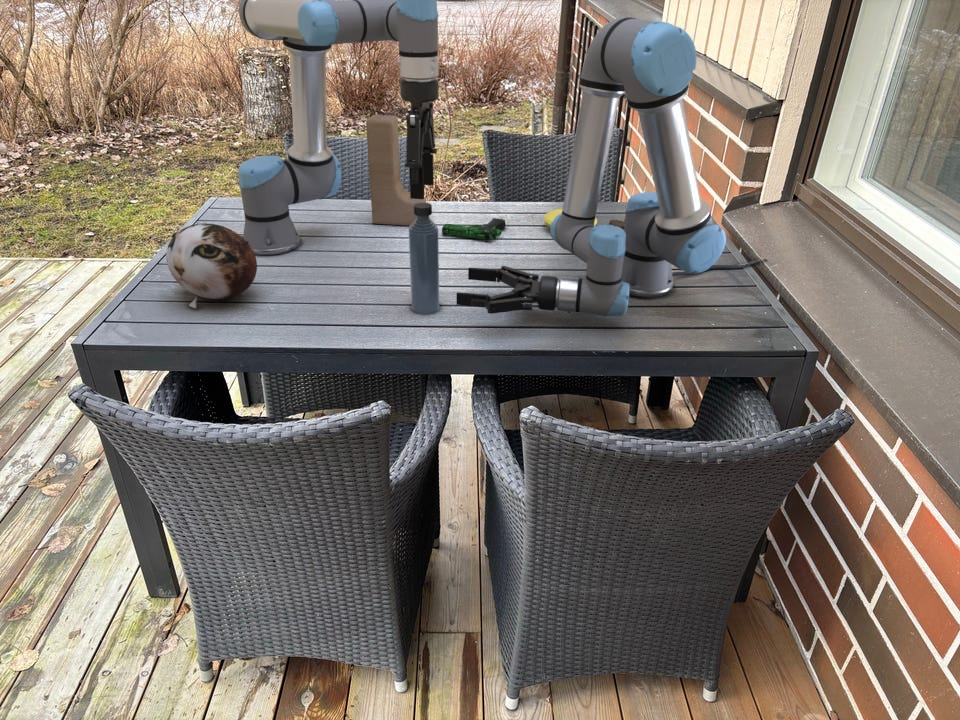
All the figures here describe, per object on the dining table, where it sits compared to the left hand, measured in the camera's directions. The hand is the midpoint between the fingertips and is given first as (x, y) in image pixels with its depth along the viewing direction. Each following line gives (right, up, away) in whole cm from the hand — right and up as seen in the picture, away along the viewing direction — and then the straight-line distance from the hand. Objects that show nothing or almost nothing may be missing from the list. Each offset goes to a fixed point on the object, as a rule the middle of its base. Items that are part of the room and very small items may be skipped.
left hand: (422, 191), depth 151 cm
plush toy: (-50, -21, +18) cm, 57 cm away
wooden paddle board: (+64, +3, +61) cm, 88 cm away
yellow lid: (+39, +3, +60) cm, 71 cm away
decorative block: (-12, +6, +63) cm, 64 cm away
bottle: (0, -24, +14) cm, 28 cm away
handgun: (+11, +1, +56) cm, 57 cm away
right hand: (+8, -19, +9) cm, 23 cm away
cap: (0, -3, +2) cm, 3 cm away
